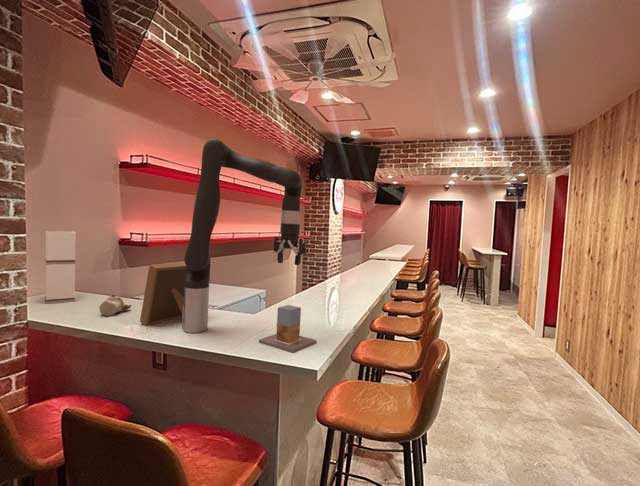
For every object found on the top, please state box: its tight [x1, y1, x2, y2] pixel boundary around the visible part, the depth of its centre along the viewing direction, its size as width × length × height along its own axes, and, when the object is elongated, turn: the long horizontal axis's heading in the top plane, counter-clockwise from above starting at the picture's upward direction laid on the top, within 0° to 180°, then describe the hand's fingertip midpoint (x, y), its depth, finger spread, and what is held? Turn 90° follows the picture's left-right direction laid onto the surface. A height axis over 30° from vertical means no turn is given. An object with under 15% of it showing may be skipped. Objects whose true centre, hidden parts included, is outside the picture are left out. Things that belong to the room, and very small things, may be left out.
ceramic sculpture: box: [99, 294, 132, 317], centre depth 157 cm, size 11×9×15 cm
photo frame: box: [139, 261, 186, 327], centre depth 147 cm, size 15×22×25 cm
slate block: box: [276, 304, 302, 327], centre depth 127 cm, size 6×6×6 cm
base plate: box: [258, 333, 318, 354], centre depth 127 cm, size 16×14×1 cm
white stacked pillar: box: [44, 230, 77, 305], centre depth 174 cm, size 11×11×35 cm
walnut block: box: [275, 323, 301, 343], centre depth 127 cm, size 6×6×6 cm
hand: (288, 263), depth 136 cm, fingers open, 8 cm apart
